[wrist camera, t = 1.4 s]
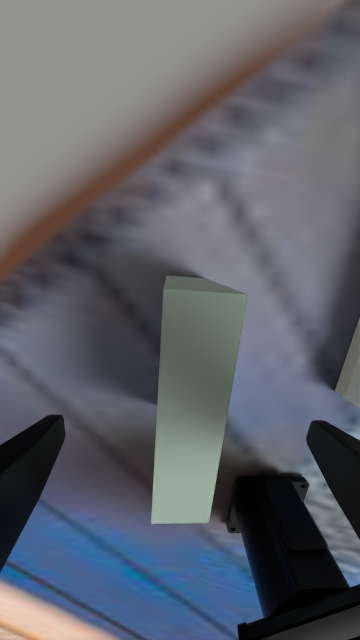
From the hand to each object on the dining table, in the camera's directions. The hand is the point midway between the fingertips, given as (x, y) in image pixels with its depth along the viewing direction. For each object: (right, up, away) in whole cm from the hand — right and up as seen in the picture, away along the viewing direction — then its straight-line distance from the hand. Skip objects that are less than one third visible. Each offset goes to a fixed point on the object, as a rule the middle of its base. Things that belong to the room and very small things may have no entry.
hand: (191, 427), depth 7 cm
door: (0, +2, +6) cm, 7 cm away
